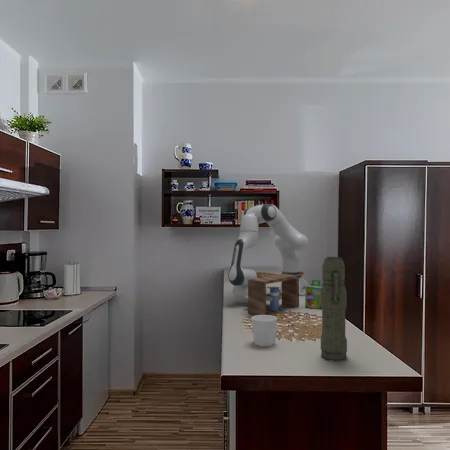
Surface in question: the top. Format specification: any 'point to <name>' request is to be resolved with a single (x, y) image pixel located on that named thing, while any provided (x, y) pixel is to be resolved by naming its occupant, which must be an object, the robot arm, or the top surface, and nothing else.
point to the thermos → (333, 310)
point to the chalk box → (313, 295)
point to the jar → (274, 299)
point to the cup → (264, 329)
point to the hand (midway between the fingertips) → (275, 298)
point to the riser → (259, 292)
